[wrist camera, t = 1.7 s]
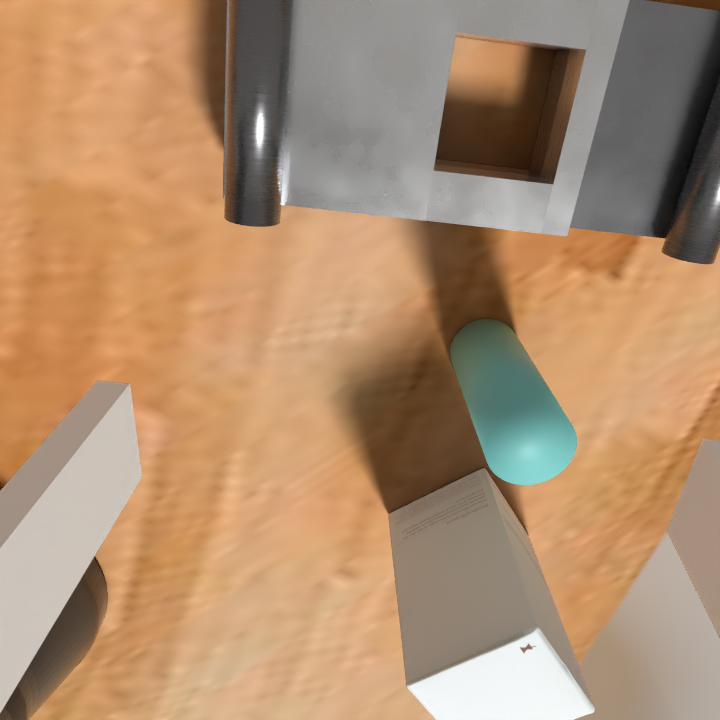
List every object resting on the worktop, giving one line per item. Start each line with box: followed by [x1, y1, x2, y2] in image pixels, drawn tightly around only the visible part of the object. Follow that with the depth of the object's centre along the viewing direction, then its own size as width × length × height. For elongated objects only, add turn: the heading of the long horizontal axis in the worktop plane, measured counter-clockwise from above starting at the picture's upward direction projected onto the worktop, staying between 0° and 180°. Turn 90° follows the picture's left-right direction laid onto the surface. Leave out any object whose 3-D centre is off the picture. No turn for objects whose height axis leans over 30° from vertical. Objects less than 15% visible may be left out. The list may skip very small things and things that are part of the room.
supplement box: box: [388, 468, 595, 720], centre depth 36 cm, size 7×7×13 cm
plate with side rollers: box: [223, 0, 720, 264], centre depth 28 cm, size 11×24×6 cm, turn 83°
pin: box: [450, 319, 577, 485], centre depth 32 cm, size 4×4×10 cm
